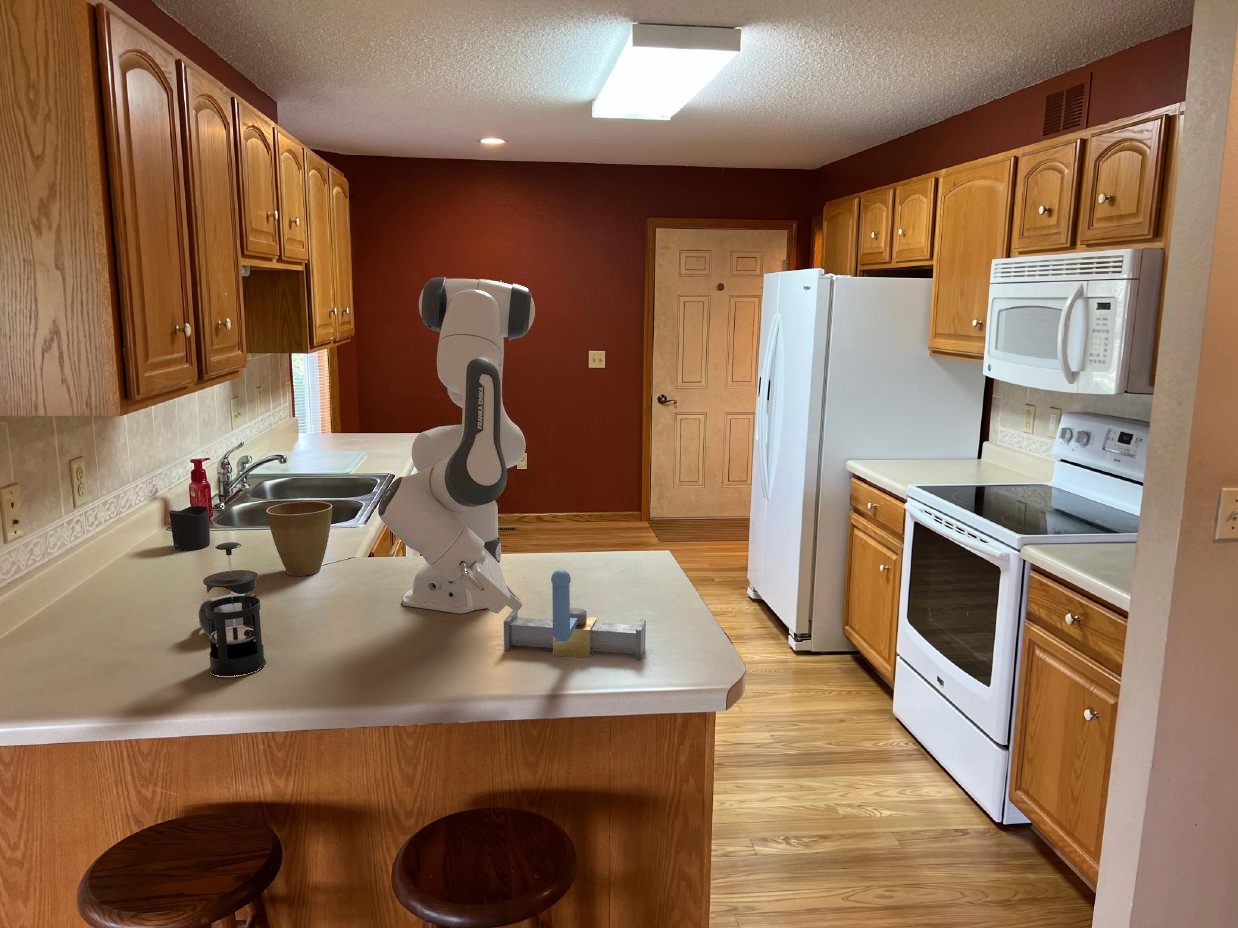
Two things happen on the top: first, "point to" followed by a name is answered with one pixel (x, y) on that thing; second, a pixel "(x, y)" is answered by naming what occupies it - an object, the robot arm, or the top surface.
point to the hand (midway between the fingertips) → (518, 606)
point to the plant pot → (301, 534)
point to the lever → (564, 607)
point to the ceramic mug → (224, 608)
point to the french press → (235, 644)
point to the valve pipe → (576, 637)
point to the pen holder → (190, 528)
